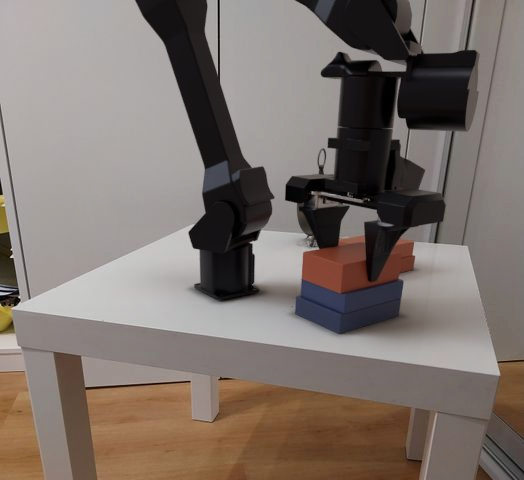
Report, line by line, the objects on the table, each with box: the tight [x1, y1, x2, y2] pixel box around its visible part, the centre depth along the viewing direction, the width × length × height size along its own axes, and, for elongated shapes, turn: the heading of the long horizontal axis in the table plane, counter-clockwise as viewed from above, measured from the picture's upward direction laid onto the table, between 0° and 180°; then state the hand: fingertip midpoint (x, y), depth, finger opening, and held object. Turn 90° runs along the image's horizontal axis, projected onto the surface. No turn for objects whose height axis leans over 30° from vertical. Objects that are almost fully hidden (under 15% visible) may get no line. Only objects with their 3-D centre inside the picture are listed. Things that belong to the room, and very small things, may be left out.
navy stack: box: [294, 278, 405, 335], centre depth 62 cm, size 10×8×4 cm
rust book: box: [301, 242, 402, 294], centre depth 61 cm, size 10×6×3 cm
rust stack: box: [338, 234, 416, 274], centre depth 81 cm, size 10×8×4 cm
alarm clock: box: [296, 147, 344, 248], centre depth 94 cm, size 11×5×16 cm, turn 148°
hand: (350, 274), depth 61 cm, fingers closed on rust book, 6 cm apart
